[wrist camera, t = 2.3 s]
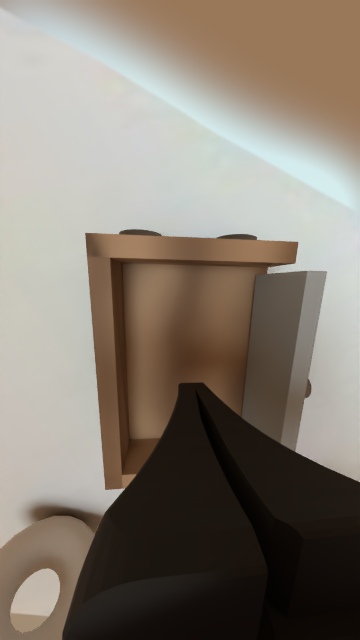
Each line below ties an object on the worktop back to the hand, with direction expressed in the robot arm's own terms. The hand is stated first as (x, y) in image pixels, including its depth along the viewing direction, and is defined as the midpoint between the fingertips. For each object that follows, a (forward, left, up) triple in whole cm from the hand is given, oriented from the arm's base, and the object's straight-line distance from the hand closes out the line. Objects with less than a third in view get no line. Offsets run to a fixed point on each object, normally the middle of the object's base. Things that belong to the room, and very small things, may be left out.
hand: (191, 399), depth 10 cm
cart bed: (0, 0, -7) cm, 7 cm away
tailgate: (-6, 0, -5) cm, 8 cm away
